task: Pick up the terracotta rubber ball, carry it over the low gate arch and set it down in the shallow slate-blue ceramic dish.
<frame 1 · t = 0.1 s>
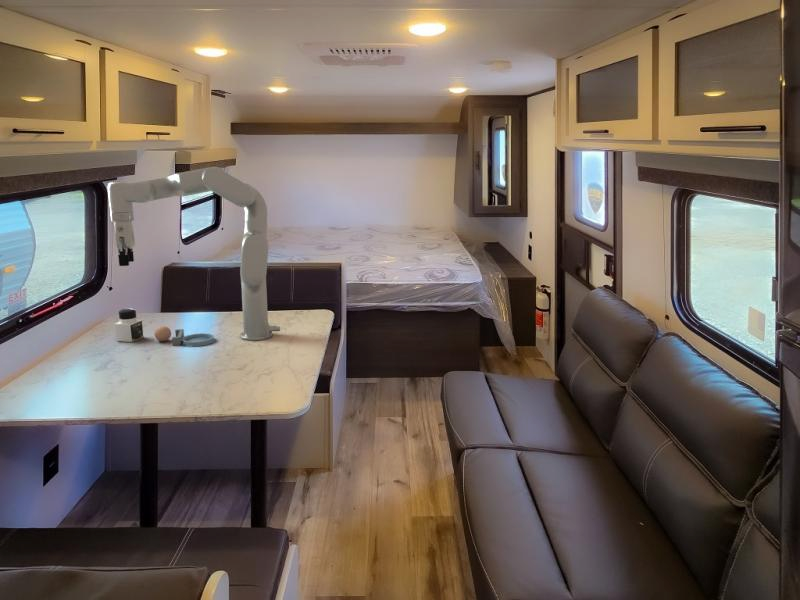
hand: (126, 263, 215), 31 cm above the table, fingers open, 9 cm apart
medicine bottle: (130, 339, 229), on the table
ball: (163, 341, 227), on the table
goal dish: (198, 341, 226), on the table
gate arch: (181, 340, 227), on the table
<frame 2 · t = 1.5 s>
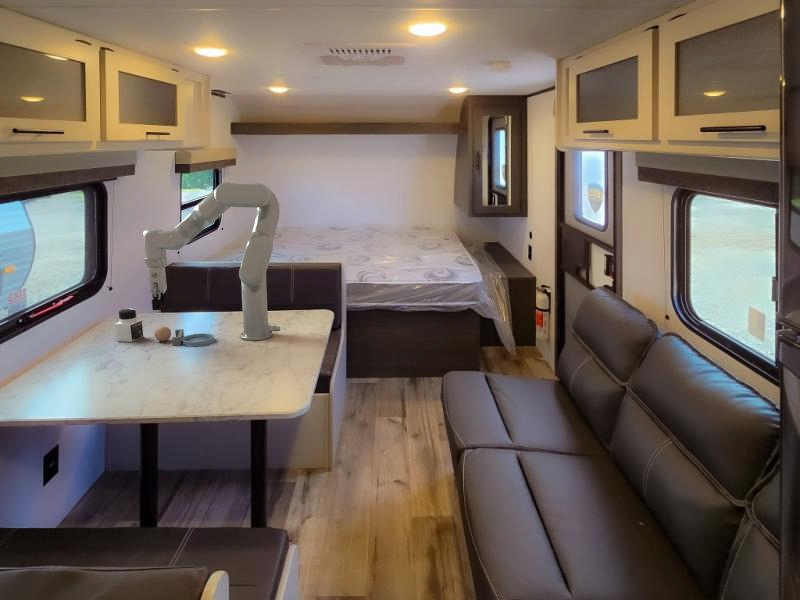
hand: (158, 306, 223), 14 cm above the table, fingers open, 9 cm apart
nothing on the table moved.
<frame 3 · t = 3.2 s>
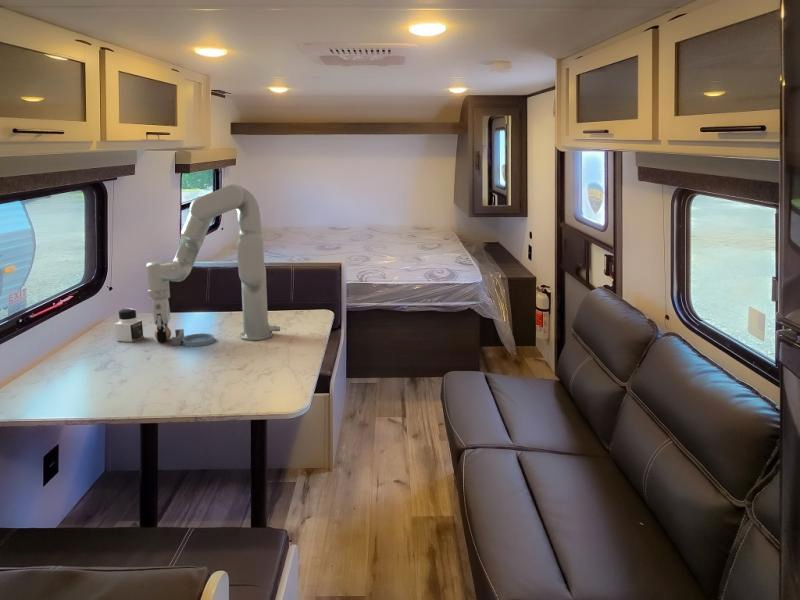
hand: (163, 338, 226), 1 cm above the table, fingers closed on ball, 6 cm apart
ball: (163, 341, 227), on the table, touching gripper
everything else where it was.
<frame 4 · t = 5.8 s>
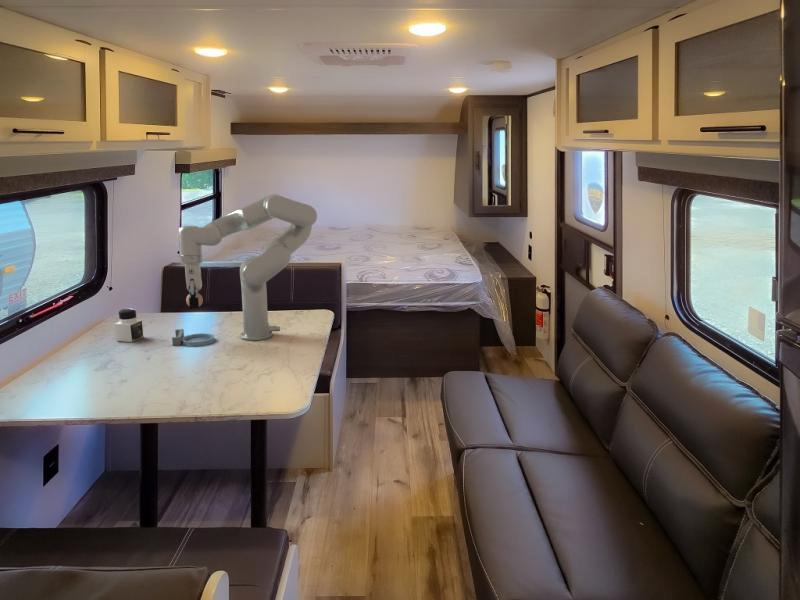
hand: (194, 305, 223), 14 cm above the table, fingers closed on ball, 5 cm apart
ball: (195, 307, 223), point 14 cm above the table, touching gripper
everything else where it was.
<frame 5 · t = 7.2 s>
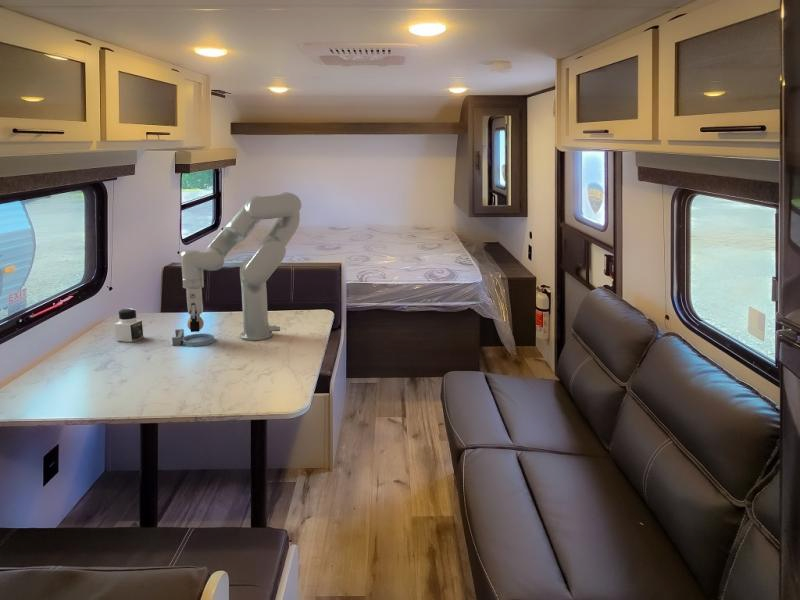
hand: (195, 328, 225), 5 cm above the table, fingers closed on ball, 5 cm apart
ball: (195, 330, 225), point 4 cm above the table, touching gripper
everything else where it was.
when the fingers open (3 cm above the table, at t = 8.3 s): ball drops 1 cm, resting on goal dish.
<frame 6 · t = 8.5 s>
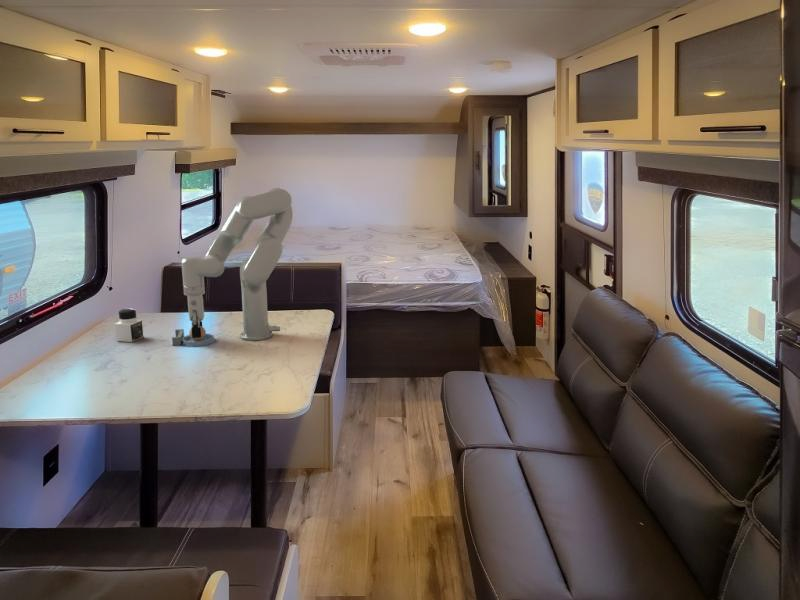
hand: (197, 334, 225), 3 cm above the table, fingers open, 8 cm apart
ball: (198, 340, 226), resting on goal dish
everything else where it was.
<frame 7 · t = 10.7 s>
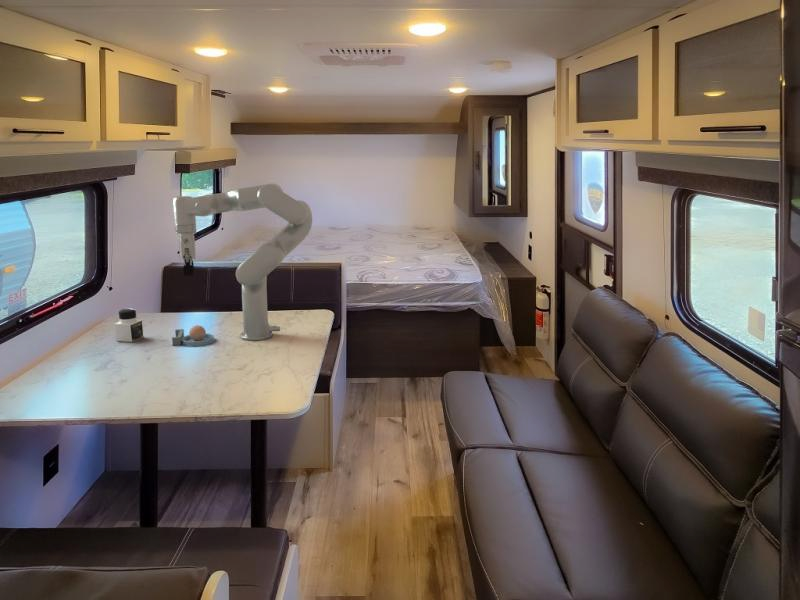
hand: (189, 273, 226), 26 cm above the table, fingers open, 9 cm apart
nothing on the table moved.
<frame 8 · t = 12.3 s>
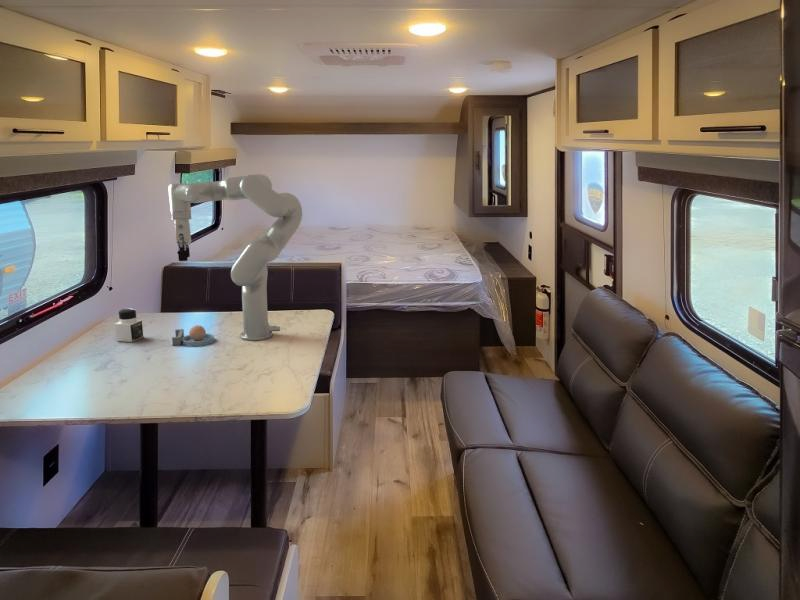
hand: (184, 259, 232), 30 cm above the table, fingers open, 9 cm apart
nothing on the table moved.
at the end: ball 0.0 cm from the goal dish (horizontally); ball resting on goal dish; the gripper is holding nothing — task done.
